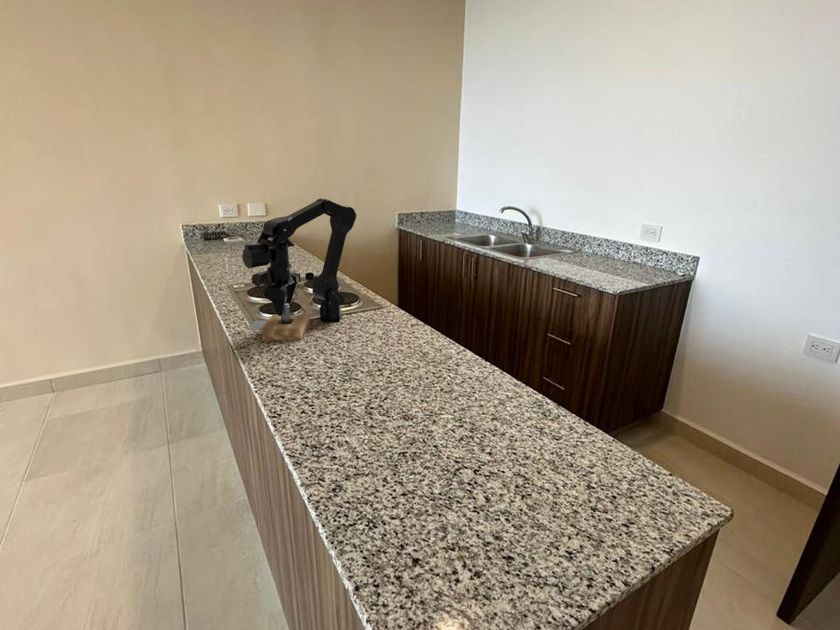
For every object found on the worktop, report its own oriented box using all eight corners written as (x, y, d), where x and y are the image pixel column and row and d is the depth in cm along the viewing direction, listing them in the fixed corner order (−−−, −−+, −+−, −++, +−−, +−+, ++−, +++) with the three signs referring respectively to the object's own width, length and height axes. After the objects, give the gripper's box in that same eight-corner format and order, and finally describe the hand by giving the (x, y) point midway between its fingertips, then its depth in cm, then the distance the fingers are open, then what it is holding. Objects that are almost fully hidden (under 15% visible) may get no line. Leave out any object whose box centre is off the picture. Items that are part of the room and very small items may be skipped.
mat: (276, 321, 158) (276, 320, 158) (268, 330, 151) (268, 329, 151) (255, 321, 158) (255, 320, 158) (247, 330, 151) (247, 329, 151)
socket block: (309, 326, 154) (309, 314, 153) (301, 340, 143) (300, 328, 142) (274, 325, 154) (272, 314, 153) (262, 340, 143) (261, 328, 142)
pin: (292, 331, 150) (290, 302, 147) (290, 334, 148) (287, 305, 144) (283, 331, 150) (280, 302, 147) (281, 334, 148) (278, 305, 144)
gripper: (262, 255, 149) (268, 300, 155) (241, 270, 132) (248, 321, 137) (297, 255, 149) (301, 301, 155) (280, 270, 132) (285, 321, 137)
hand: (284, 310), depth 146 cm, fingers open, 9 cm apart
